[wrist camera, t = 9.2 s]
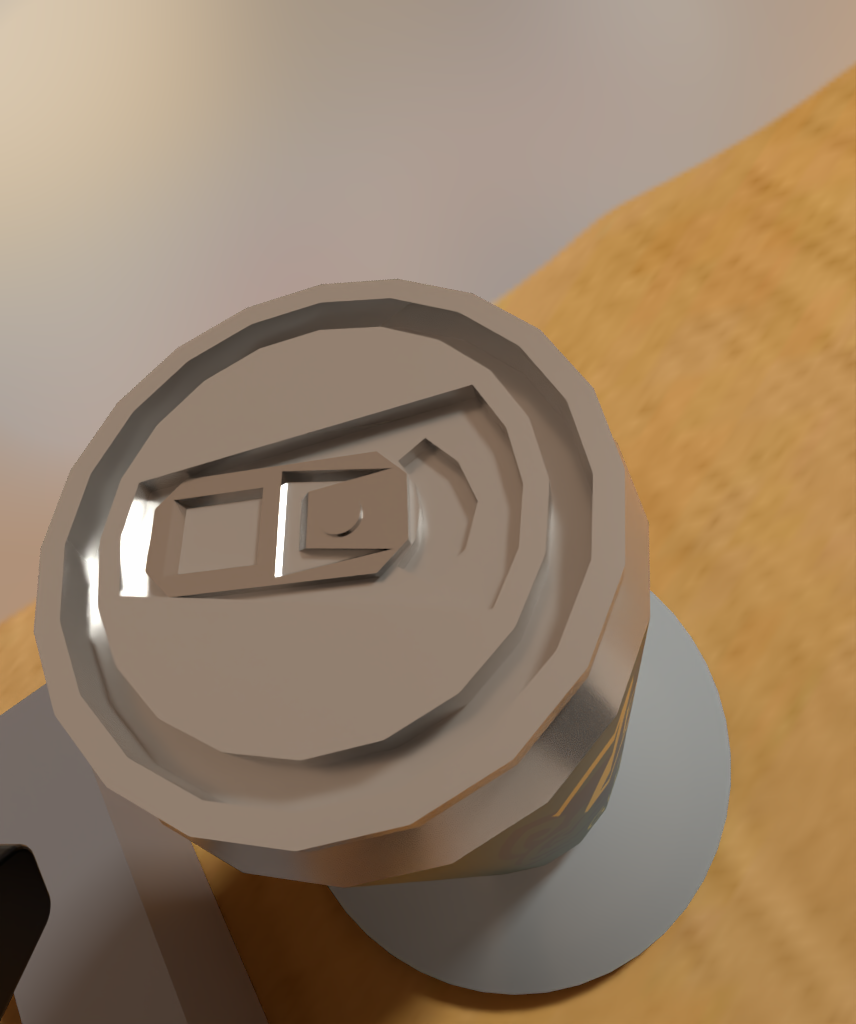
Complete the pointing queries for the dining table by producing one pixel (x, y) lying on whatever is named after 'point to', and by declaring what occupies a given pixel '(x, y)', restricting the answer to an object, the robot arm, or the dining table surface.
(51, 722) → the can dock
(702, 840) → the coaster
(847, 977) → the dining table surface
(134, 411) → the beer can
